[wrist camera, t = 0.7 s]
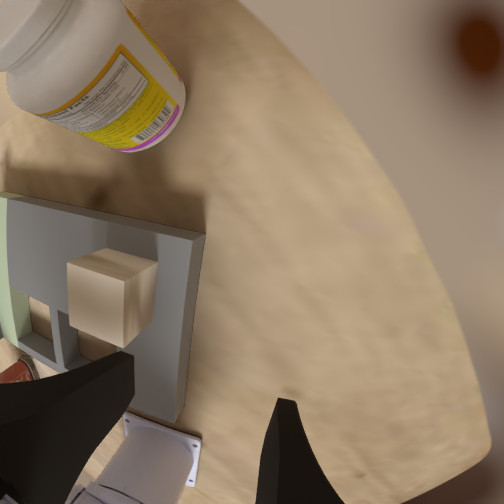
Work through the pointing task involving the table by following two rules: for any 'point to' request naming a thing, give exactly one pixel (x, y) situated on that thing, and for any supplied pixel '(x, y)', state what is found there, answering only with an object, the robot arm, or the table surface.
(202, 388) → the table surface
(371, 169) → the table surface
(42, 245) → the grey divided tray
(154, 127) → the supplement bottle
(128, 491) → the robot arm
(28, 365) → the ornate red tin
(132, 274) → the block
